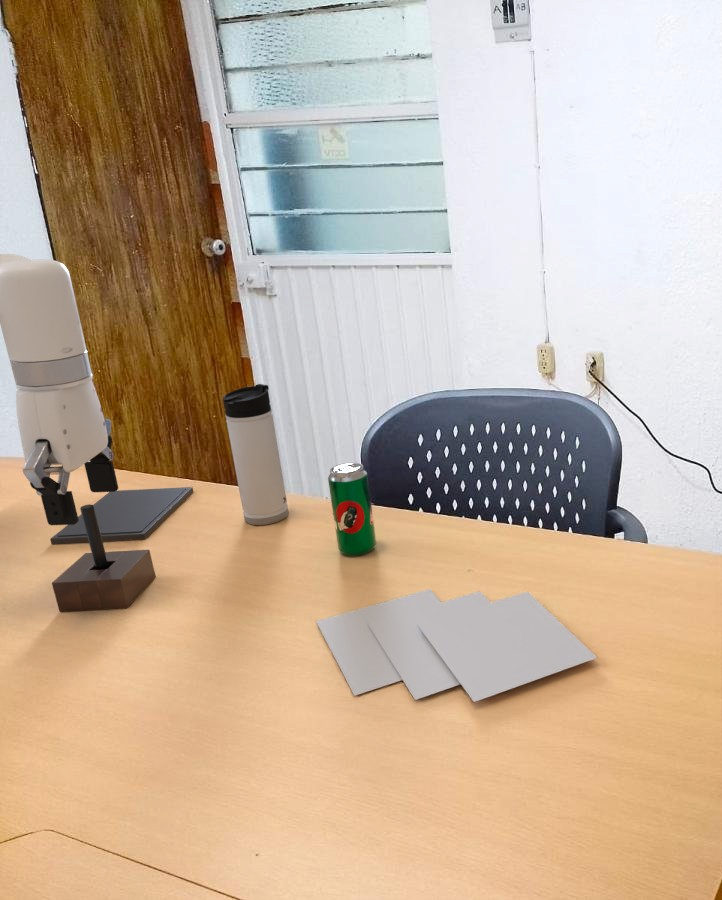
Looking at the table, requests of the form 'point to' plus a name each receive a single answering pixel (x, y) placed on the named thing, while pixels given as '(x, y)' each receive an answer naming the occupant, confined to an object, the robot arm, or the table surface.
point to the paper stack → (451, 644)
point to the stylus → (94, 537)
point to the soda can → (352, 509)
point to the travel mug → (256, 455)
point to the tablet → (127, 514)
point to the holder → (104, 581)
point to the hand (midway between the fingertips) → (85, 506)
